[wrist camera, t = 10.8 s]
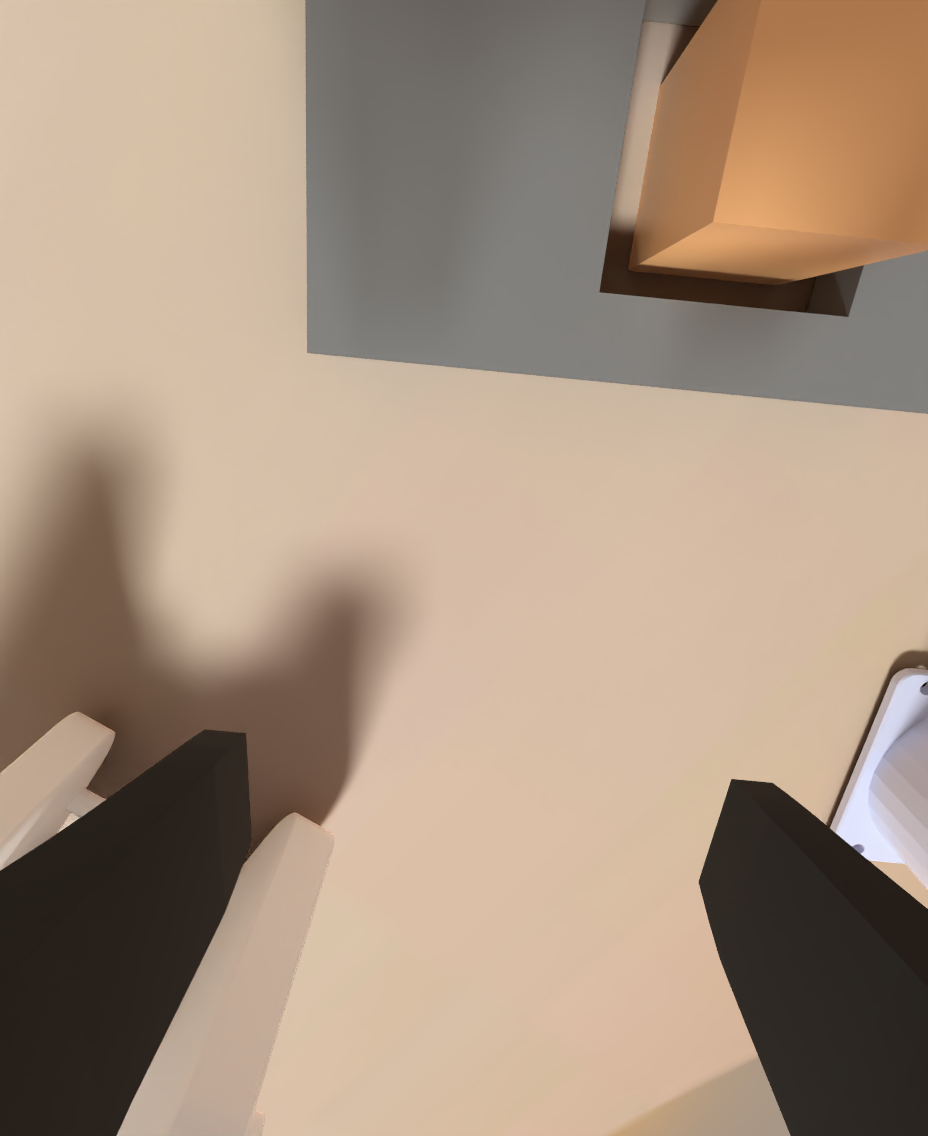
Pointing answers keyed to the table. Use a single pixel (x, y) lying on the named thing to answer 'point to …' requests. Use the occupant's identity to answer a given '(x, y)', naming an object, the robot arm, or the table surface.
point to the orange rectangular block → (789, 143)
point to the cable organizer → (231, 963)
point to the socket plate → (541, 215)
